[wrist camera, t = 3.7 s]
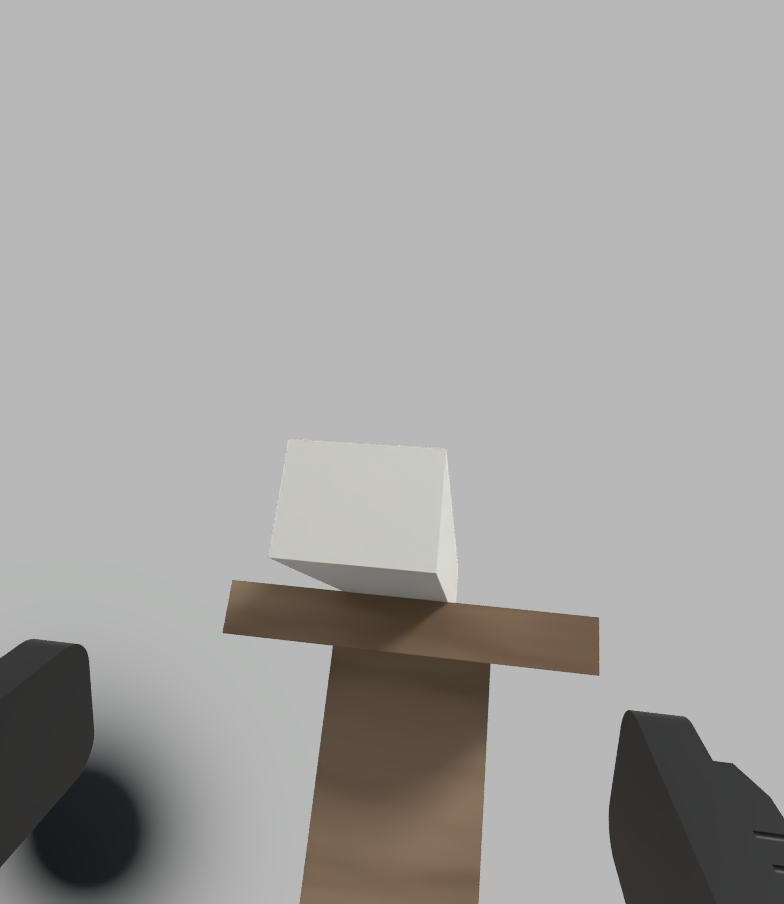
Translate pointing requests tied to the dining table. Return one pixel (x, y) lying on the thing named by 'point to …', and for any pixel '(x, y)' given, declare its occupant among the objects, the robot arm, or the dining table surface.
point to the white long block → (368, 518)
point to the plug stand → (404, 730)
